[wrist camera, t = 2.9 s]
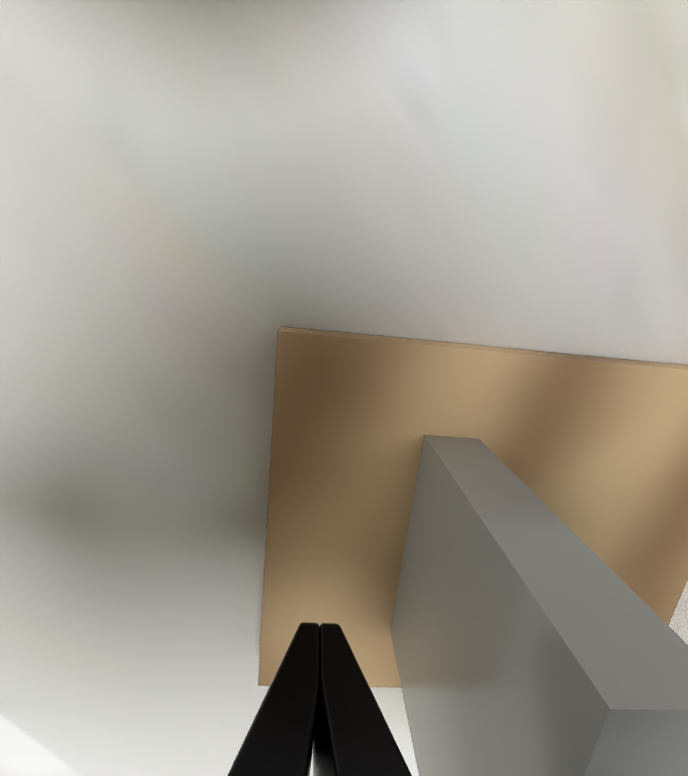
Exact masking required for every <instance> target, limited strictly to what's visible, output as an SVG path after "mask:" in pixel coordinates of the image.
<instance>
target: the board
mask: <svg viewBox="0 0 688 776" xmlns="http://www.w3.org/2000/svg"><path fill="white" fill-rule="evenodd" d="M424 435H437V436H451V437H464V438H478V439H480V440H481V441H482V442H483V443H484V444H485V445H486V446H487V447H488V448H489V449H490V450H491V451H492V452H493V453H494V454H495V455H496V456H497V457H498V458H499V459H500V460H501V461H502V462H503V463H504V464H505V465H506V466H507V467H508V468H509V469H510V470H511V471H512V472H513V473H514V474H515V475H516V476H517V477H518V478H519V479H520V480H521V481H522V482H523V483H524V484H525V485H526V486H527V487H528V488H529V489H530V490H531V491H532V492H533V493H534V494H535V495H536V496H537V497H539V498H540V499H541V500H542V501H543V502H544V503H545V504H546V505H547V506H548V507H549V508H550V509H551V510H552V511H553V512H554V513H555V514H556V515H557V516H558V517H559V518H560V519H561V520H562V521H563V522H564V523H565V524H566V525H567V526H568V527H569V528H570V529H571V530H572V531H573V532H574V533H575V534H576V535H577V536H578V537H579V538H580V539H581V540H582V541H583V542H584V543H585V544H586V545H587V546H588V547H589V548H590V549H591V550H592V551H593V552H594V553H595V554H596V555H597V556H598V557H599V558H600V559H601V560H602V561H603V562H604V563H605V564H606V565H607V566H608V567H609V568H610V569H611V570H612V571H613V572H614V573H615V574H616V575H617V576H618V577H619V578H620V579H621V580H622V581H623V582H624V583H625V584H626V585H627V586H628V587H629V588H630V589H632V590H633V591H634V592H635V593H636V594H637V595H638V596H639V597H640V598H641V599H642V600H643V601H644V602H645V603H646V604H647V605H648V606H649V607H650V608H651V609H652V610H653V611H654V612H655V613H656V614H657V615H658V616H659V617H660V618H661V619H662V620H663V621H664V622H665V623H666V624H667V625H669V623H670V620H671V618H672V615H673V613H674V611H675V608H676V606H677V604H678V601H679V599H680V597H681V594H682V592H683V590H684V587H685V585H686V582H687V580H688V365H678V364H667V363H657V362H647V361H636V360H626V359H615V358H605V357H594V356H584V355H574V354H563V353H553V352H542V351H532V350H521V349H511V348H501V347H490V346H480V345H469V344H459V343H449V342H438V341H428V340H417V339H407V338H396V337H386V336H376V335H365V334H355V333H344V332H334V331H323V330H313V329H303V328H292V327H281V328H280V329H279V330H278V337H277V355H276V373H275V391H274V409H273V427H272V445H271V463H270V481H269V499H268V517H267V535H266V553H265V571H264V589H263V607H262V625H261V643H260V661H259V679H258V686H270V685H271V683H272V681H273V679H274V677H275V675H276V672H277V670H278V668H279V666H280V664H281V662H282V660H283V658H284V656H285V654H286V651H287V649H288V647H289V645H290V643H291V641H292V639H293V637H294V635H295V632H296V630H297V628H298V626H299V625H300V623H302V622H311V623H318V624H319V627H320V625H321V624H322V623H337V624H339V625H340V627H341V628H342V631H343V633H344V635H345V637H346V639H347V641H348V643H349V645H350V647H351V649H352V652H353V654H354V656H355V658H356V660H357V662H358V664H359V666H360V668H361V670H362V673H363V675H364V677H365V679H366V681H367V683H368V685H369V687H401V683H400V678H399V673H398V668H397V663H396V658H395V653H394V648H393V643H392V638H391V633H390V629H391V623H392V617H393V611H394V605H395V600H396V594H397V588H398V582H399V576H400V571H401V565H402V559H403V553H404V548H405V542H406V536H407V530H408V524H409V519H410V513H411V507H412V501H413V495H414V490H415V484H416V478H417V472H418V466H419V461H420V455H421V449H422V443H423V438H424Z"/></svg>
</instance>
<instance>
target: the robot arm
mask: <svg viewBox="0 0 688 776" xmlns="http://www.w3.org/2000/svg"><path fill="white" fill-rule="evenodd" d="M312 749H313V776H412V775H411V773H410V771H409V769H408V767H407V765H406V763H405V761H404V759H403V756H402V754H401V752H400V750H399V748H398V746H397V744H396V742H395V740H394V738H393V735H392V733H391V731H390V729H389V727H388V725H387V723H386V721H385V719H384V717H383V714H382V712H381V710H380V708H379V706H378V704H377V702H376V700H375V698H374V696H373V693H372V691H371V689H370V687H369V685H368V683H367V681H366V679H365V677H364V675H363V673H362V670H361V668H360V666H359V664H358V662H357V660H356V658H355V656H354V654H353V652H352V649H351V647H350V645H349V643H348V641H347V639H346V637H345V635H344V633H343V631H342V628H341V627H340V625H339V624H337V623H322V624H321V625H320V627H319V624H318V623H311V622H302V623H300V625H299V626H298V628H297V630H296V632H295V635H294V637H293V639H292V641H291V643H290V645H289V647H288V649H287V651H286V654H285V656H284V658H283V660H282V662H281V664H280V666H279V668H278V670H277V672H276V675H275V677H274V679H273V681H272V683H271V685H270V687H269V689H268V691H267V694H266V696H265V698H264V700H263V702H262V704H261V706H260V708H259V710H258V712H257V715H256V717H255V719H254V721H253V723H252V725H251V727H250V729H249V731H248V734H247V736H246V738H245V740H244V742H243V744H242V746H241V748H240V750H239V752H238V755H237V757H236V759H235V761H234V763H233V765H232V767H231V769H230V771H229V774H228V776H309V775H310V766H311V758H312Z"/></svg>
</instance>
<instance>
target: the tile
mask: <svg viewBox="0 0 688 776" xmlns="http://www.w3.org/2000/svg"><path fill="white" fill-rule="evenodd" d="M390 633H391V638H392V643H393V648H394V653H395V658H396V663H397V668H398V673H399V678H400V683H401V688H402V693H403V698H404V703H405V708H406V713H407V718H408V723H409V728H410V733H411V738H412V743H413V748H414V753H415V758H416V763H417V768H418V773H419V776H688V645H687V644H686V643H685V642H684V641H683V640H682V639H681V638H680V637H679V636H678V635H677V634H676V633H675V632H674V631H673V630H672V629H671V628H670V627H669V626H668V625H667V624H666V623H665V622H664V621H663V620H662V619H661V618H660V617H659V616H658V615H657V614H656V613H655V612H654V611H653V610H652V609H651V608H650V607H649V606H648V605H647V604H646V603H645V602H644V601H643V600H642V599H641V598H640V597H639V596H638V595H637V594H636V593H635V592H634V591H633V590H632V589H630V588H629V587H628V586H627V585H626V584H625V583H624V582H623V581H622V580H621V579H620V578H619V577H618V576H617V575H616V574H615V573H614V572H613V571H612V570H611V569H610V568H609V567H608V566H607V565H606V564H605V563H604V562H603V561H602V560H601V559H600V558H599V557H598V556H597V555H596V554H595V553H594V552H593V551H592V550H591V549H590V548H589V547H588V546H587V545H586V544H585V543H584V542H583V541H582V540H581V539H580V538H579V537H578V536H577V535H576V534H575V533H574V532H573V531H572V530H571V529H570V528H569V527H568V526H567V525H566V524H565V523H564V522H563V521H562V520H561V519H560V518H559V517H558V516H557V515H556V514H555V513H554V512H553V511H552V510H551V509H550V508H549V507H548V506H547V505H546V504H545V503H544V502H543V501H542V500H541V499H540V498H539V497H537V496H536V495H535V494H534V493H533V492H532V491H531V490H530V489H529V488H528V487H527V486H526V485H525V484H524V483H523V482H522V481H521V480H520V479H519V478H518V477H517V476H516V475H515V474H514V473H513V472H512V471H511V470H510V469H509V468H508V467H507V466H506V465H505V464H504V463H503V462H502V461H501V460H500V459H499V458H498V457H497V456H496V455H495V454H494V453H493V452H492V451H491V450H490V449H489V448H488V447H487V446H486V445H485V444H484V443H483V442H482V441H481V440H480V439H478V438H464V437H451V436H437V435H424V438H423V443H422V449H421V455H420V461H419V466H418V472H417V478H416V484H415V490H414V495H413V501H412V507H411V513H410V519H409V524H408V530H407V536H406V542H405V548H404V553H403V559H402V565H401V571H400V576H399V582H398V588H397V594H396V600H395V605H394V611H393V617H392V623H391V629H390Z"/></svg>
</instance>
